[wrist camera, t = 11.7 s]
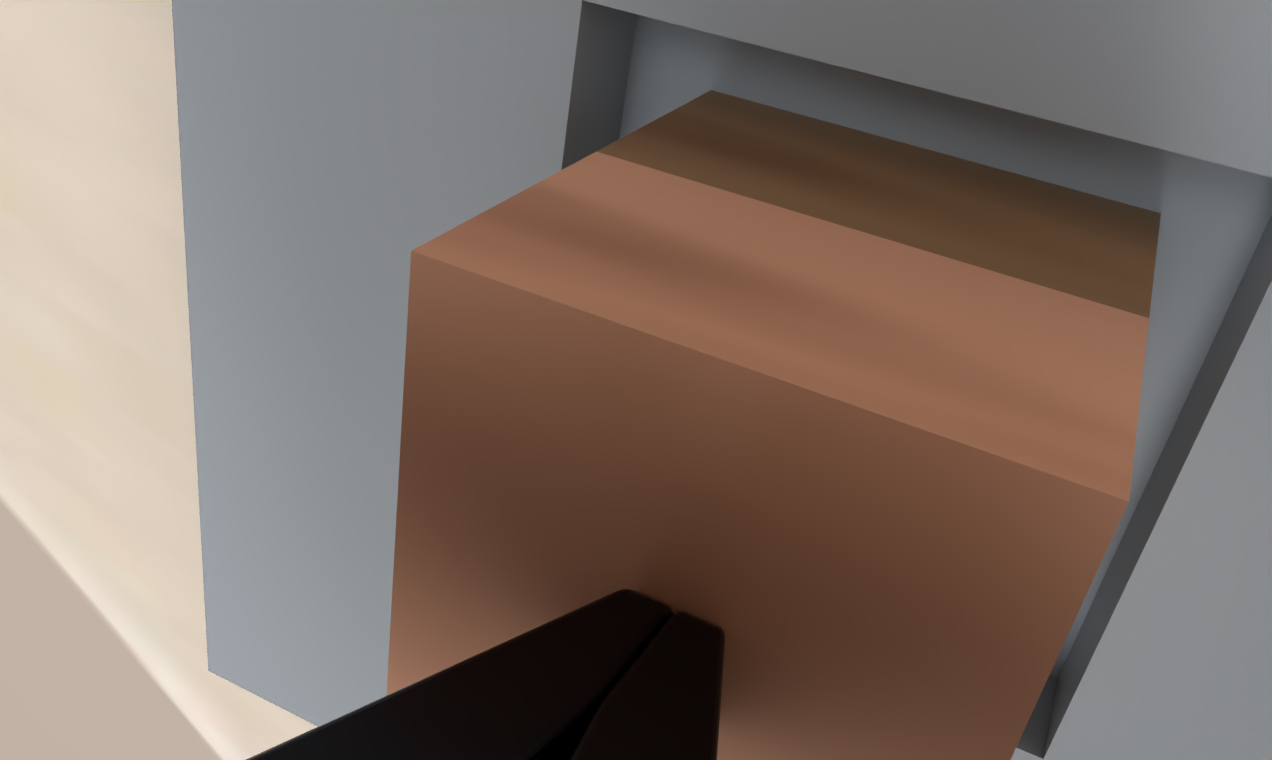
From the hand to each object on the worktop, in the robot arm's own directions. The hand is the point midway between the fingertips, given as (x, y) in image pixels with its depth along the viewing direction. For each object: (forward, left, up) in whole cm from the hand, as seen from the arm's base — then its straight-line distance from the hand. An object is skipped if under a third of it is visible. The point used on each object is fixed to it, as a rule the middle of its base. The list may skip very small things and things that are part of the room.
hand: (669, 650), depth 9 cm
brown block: (0, 0, -6) cm, 6 cm away
